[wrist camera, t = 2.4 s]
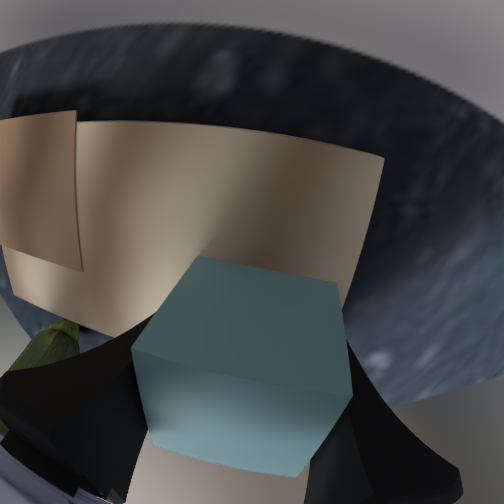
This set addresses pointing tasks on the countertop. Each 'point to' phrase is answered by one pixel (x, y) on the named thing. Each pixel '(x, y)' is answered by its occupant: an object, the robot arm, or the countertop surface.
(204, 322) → the teal block
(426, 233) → the countertop surface
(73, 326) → the vegetable
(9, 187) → the maple board
